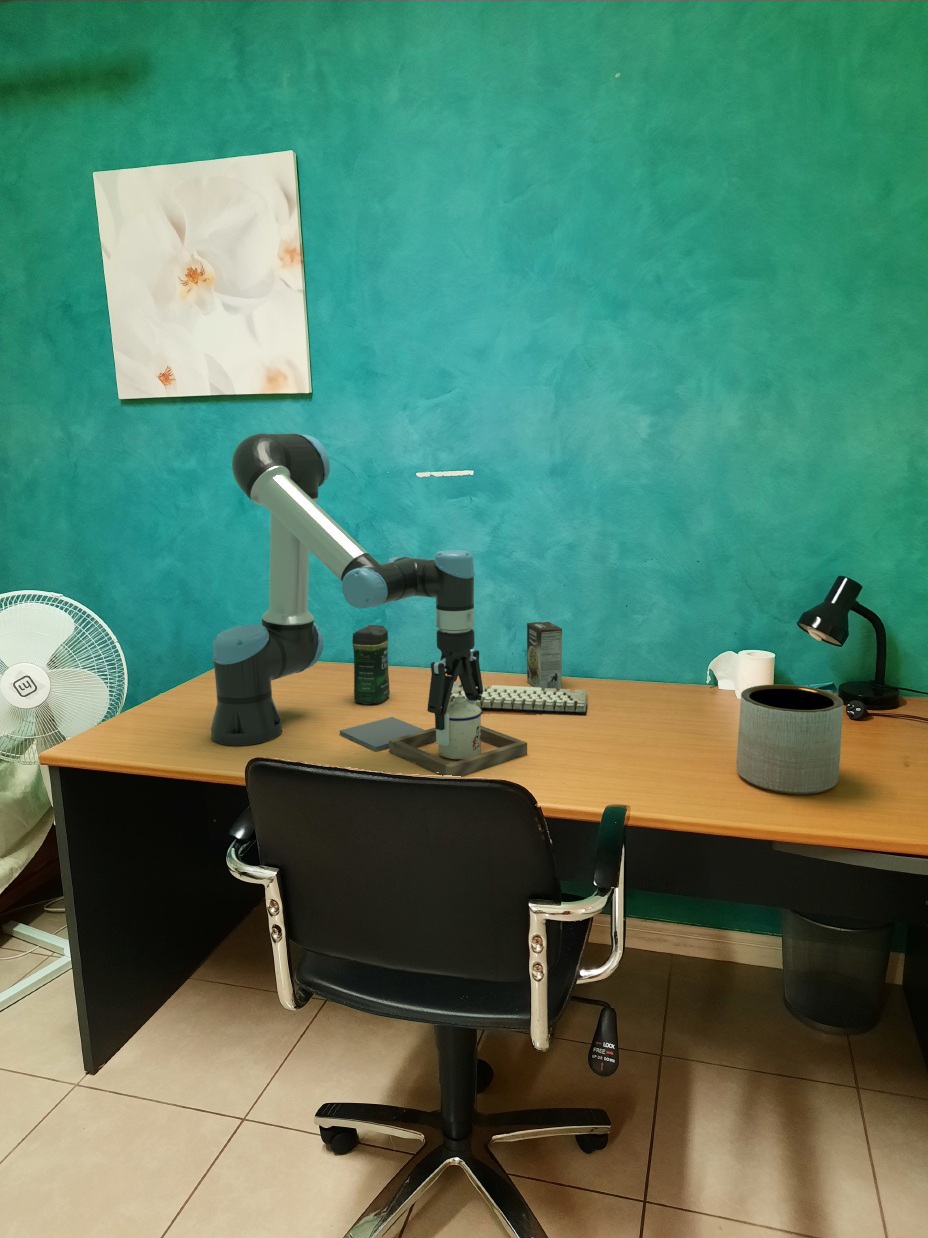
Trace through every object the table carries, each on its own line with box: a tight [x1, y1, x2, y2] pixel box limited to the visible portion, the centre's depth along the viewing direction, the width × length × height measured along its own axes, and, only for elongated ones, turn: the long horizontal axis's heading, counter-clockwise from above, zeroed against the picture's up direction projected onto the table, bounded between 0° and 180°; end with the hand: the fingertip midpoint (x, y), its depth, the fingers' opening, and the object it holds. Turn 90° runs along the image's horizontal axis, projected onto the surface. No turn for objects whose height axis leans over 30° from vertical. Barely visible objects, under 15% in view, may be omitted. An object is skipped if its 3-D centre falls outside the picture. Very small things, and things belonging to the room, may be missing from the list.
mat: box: [339, 716, 425, 752], centre depth 182 cm, size 14×14×1 cm
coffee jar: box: [351, 624, 391, 705], centre depth 207 cm, size 10×8×19 cm
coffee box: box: [526, 621, 563, 692], centre depth 217 cm, size 9×6×16 cm
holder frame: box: [388, 725, 528, 777], centre depth 171 cm, size 20×20×2 cm
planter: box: [735, 684, 844, 795], centre depth 155 cm, size 18×18×16 cm
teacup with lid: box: [437, 696, 483, 760], centre depth 171 cm, size 12×9×12 cm
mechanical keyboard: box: [433, 681, 588, 717], centre depth 205 cm, size 38×19×3 cm, turn 81°
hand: (456, 737), depth 171 cm, fingers closed on teacup with lid, 9 cm apart
